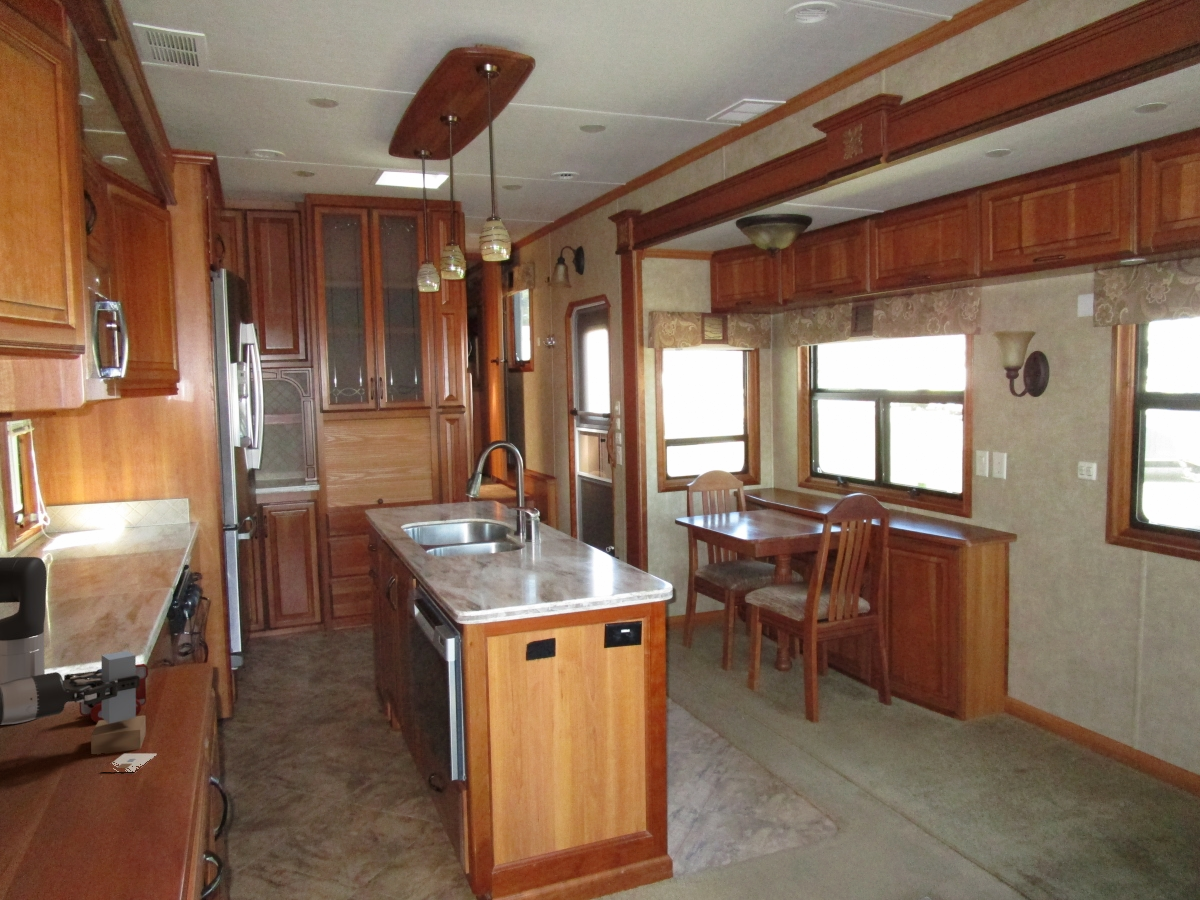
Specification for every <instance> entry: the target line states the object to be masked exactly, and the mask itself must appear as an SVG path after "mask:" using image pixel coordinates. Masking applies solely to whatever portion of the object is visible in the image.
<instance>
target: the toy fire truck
mask: <svg viewBox="0 0 1200 900" xmlns="http://www.w3.org/2000/svg"><path fill="white" fill-rule="evenodd" d="M96 671H101V673H102V668H99V669H97V670H96ZM136 675H137V676H139V677H140V685H139V687H137V688H136V716H139V714H140V713H141V712H142V707H143V706H144V705H145V704H146V703H147V684H146V683H147V678H148V675H149V667H148V665H147V664H146V663H138V664H136ZM78 703H79V714H80V715H81V716H84V717H87V716H90V719H91V720H92V721H93V722H95V723H96V724H97V723H98V721H100V720H104V719H103V718H102V701H99V702H95V703H92V704H89V705H85V704H84V702H78Z"/></svg>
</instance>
